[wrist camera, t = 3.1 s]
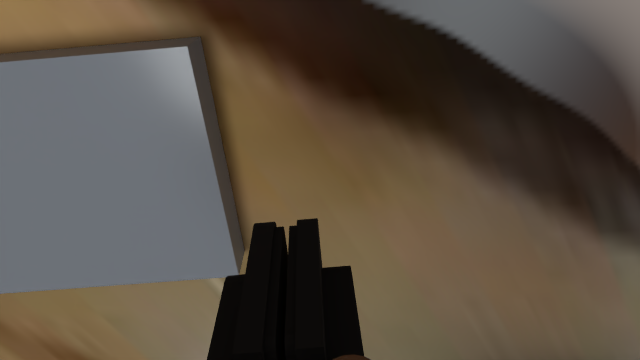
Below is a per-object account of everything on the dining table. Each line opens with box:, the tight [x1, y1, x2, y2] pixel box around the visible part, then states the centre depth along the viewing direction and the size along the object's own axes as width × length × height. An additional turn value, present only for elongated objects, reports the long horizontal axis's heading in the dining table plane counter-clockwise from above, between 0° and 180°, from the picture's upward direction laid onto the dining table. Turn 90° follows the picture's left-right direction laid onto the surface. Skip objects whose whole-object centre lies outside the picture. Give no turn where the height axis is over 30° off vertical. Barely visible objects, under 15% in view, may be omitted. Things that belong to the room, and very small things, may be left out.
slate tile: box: [0, 37, 244, 294], centre depth 19 cm, size 18×11×2 cm, turn 95°
